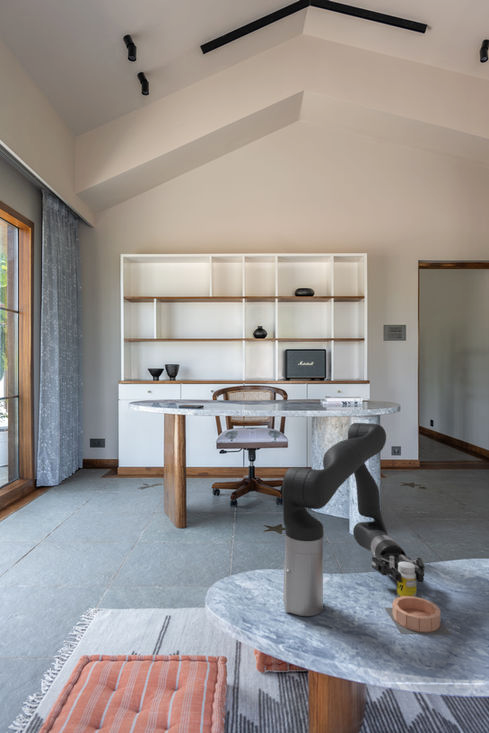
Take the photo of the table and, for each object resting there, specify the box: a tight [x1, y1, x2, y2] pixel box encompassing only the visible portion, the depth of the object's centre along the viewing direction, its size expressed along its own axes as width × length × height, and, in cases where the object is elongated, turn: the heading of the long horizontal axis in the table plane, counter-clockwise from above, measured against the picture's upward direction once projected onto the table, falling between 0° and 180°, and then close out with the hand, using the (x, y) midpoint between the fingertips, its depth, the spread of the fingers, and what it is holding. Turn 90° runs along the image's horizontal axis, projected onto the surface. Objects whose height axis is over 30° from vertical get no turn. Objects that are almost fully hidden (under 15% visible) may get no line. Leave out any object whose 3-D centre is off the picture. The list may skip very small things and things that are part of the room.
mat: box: [384, 607, 452, 635], centre depth 99 cm, size 11×11×1 cm
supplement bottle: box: [396, 562, 417, 598], centre depth 111 cm, size 5×5×8 cm
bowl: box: [391, 596, 442, 633], centre depth 100 cm, size 10×10×3 cm
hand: (410, 578), depth 108 cm, fingers closed on supplement bottle, 4 cm apart
